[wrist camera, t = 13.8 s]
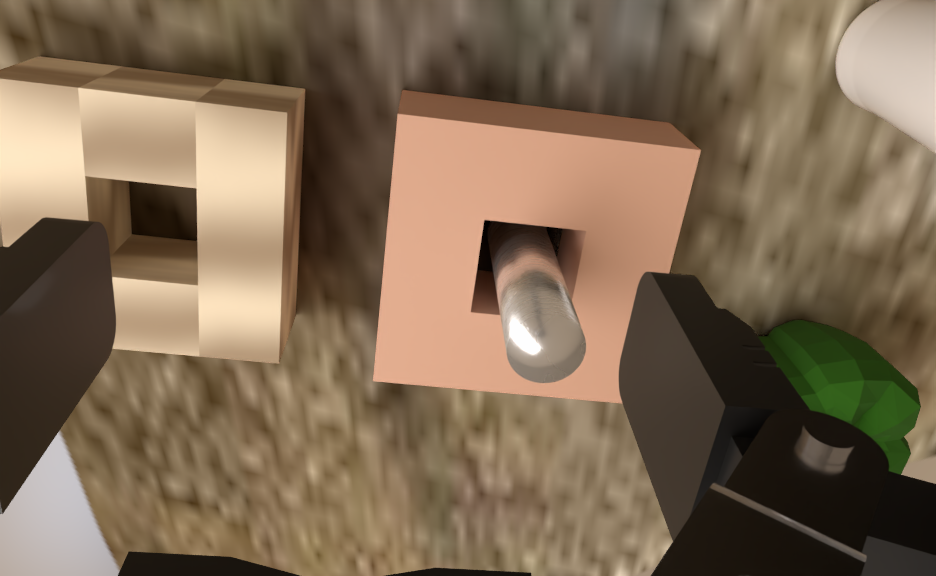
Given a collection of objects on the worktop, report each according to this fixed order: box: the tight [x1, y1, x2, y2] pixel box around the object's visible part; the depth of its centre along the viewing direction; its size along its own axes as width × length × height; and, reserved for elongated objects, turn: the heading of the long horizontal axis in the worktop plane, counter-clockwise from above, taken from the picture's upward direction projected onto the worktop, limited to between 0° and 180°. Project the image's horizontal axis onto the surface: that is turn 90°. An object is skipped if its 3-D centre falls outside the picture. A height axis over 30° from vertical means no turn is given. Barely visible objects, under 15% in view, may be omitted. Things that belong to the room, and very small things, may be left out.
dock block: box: [373, 90, 701, 403], centre depth 38 cm, size 13×13×5 cm
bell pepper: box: [758, 320, 921, 475], centre depth 40 cm, size 8×8×10 cm
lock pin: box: [487, 221, 586, 383], centre depth 35 cm, size 3×3×12 cm
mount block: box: [0, 56, 305, 364], centre depth 37 cm, size 12×12×5 cm
